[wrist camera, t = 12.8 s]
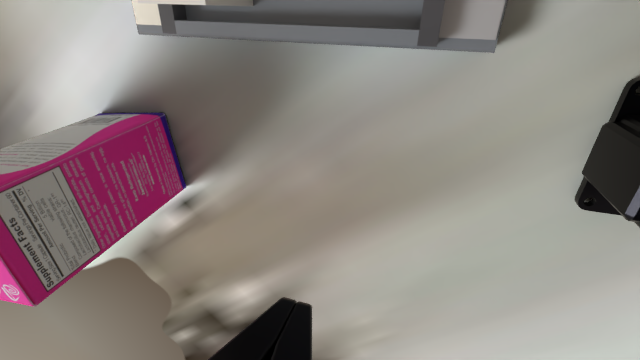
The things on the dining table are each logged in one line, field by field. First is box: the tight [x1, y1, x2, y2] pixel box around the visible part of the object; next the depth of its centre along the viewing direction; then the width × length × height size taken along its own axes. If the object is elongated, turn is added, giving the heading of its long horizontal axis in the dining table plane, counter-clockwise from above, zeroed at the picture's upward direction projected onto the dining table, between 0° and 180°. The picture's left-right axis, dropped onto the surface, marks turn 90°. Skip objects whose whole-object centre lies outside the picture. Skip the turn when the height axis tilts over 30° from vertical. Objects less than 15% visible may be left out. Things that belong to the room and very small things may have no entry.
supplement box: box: [0, 113, 186, 306], centre depth 19 cm, size 6×6×12 cm
